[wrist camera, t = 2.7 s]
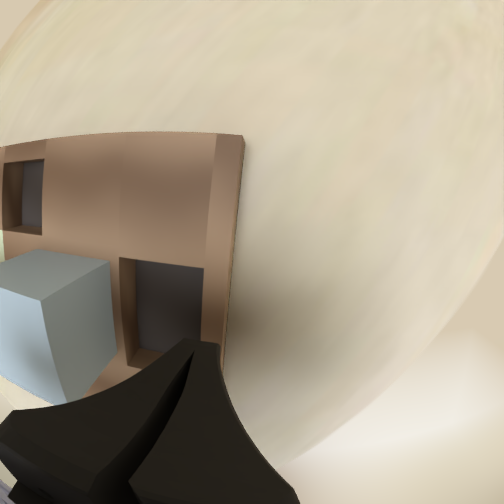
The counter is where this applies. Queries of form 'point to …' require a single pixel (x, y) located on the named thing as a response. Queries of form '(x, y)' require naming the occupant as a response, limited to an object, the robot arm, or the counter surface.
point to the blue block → (55, 323)
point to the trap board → (134, 228)
